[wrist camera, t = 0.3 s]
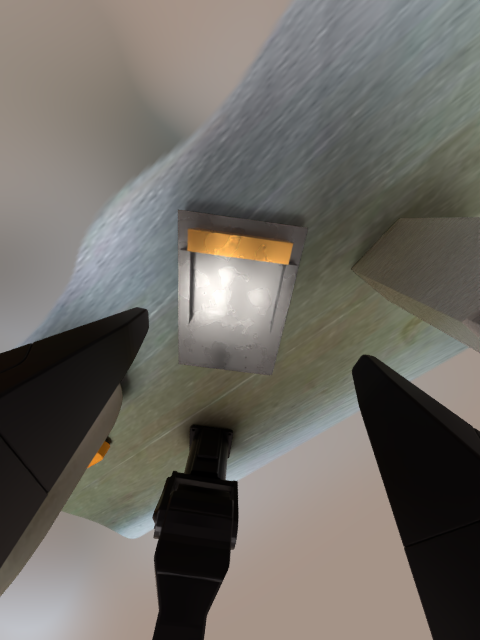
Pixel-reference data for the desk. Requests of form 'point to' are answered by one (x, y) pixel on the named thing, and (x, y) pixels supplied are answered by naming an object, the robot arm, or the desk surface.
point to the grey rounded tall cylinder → (61, 491)
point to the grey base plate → (234, 289)
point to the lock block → (430, 272)
